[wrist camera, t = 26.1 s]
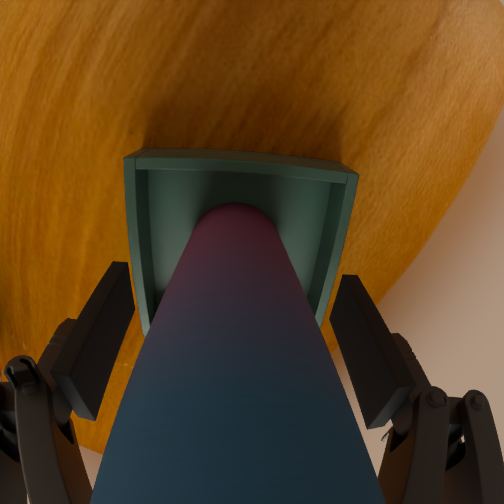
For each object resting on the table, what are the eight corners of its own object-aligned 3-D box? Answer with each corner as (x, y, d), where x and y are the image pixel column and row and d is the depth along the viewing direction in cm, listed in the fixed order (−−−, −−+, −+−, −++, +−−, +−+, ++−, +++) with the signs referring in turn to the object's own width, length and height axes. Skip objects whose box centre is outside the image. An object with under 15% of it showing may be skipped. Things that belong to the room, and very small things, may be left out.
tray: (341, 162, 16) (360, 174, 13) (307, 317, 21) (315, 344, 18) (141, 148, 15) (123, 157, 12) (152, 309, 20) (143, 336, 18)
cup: (220, 161, 15) (144, 524, 2) (317, 231, 17) (438, 500, 4) (157, 255, 17) (69, 516, 4) (247, 307, 19) (262, 549, 6)
